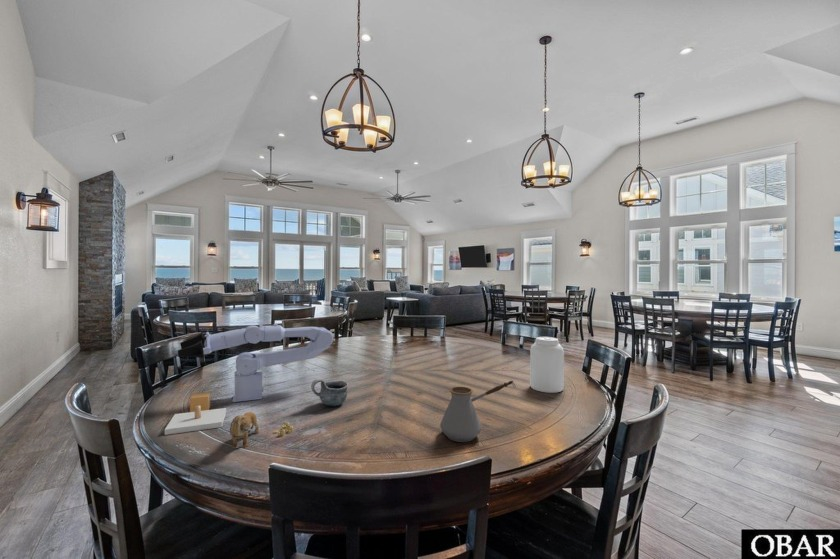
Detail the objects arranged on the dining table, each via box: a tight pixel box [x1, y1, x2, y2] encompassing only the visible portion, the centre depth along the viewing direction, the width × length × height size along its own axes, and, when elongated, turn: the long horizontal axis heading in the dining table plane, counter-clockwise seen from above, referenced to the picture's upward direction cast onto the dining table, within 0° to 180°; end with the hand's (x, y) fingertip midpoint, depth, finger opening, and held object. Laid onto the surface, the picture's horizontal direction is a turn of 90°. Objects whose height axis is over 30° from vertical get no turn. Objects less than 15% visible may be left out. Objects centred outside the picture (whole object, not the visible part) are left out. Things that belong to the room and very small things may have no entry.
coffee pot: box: [439, 380, 517, 443], centre depth 103 cm, size 21×12×15 cm, turn 97°
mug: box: [310, 377, 349, 407], centre depth 125 cm, size 10×12×10 cm
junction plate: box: [164, 405, 227, 436], centre depth 110 cm, size 14×12×5 cm
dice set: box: [273, 422, 294, 437], centre depth 105 cm, size 5×5×2 cm
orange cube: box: [189, 391, 211, 412], centre depth 120 cm, size 5×5×5 cm
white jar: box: [529, 336, 565, 394], centre depth 145 cm, size 12×12×20 cm
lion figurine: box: [229, 411, 260, 449], centre depth 98 cm, size 15×5×9 cm, turn 13°
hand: (179, 349), depth 123 cm, fingers open, 7 cm apart
